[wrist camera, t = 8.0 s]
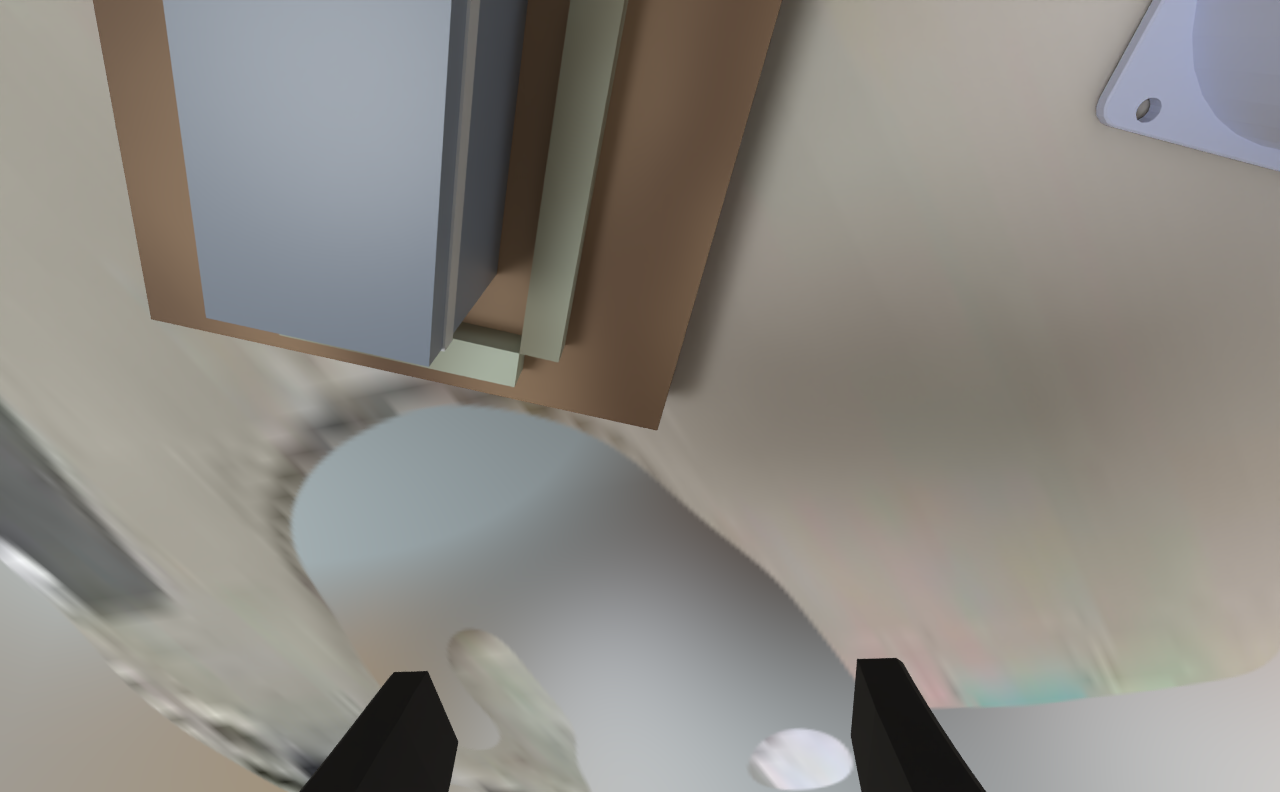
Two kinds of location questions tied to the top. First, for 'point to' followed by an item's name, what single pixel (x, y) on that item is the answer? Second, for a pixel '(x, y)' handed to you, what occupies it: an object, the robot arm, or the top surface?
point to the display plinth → (524, 196)
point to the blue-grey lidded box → (347, 162)
